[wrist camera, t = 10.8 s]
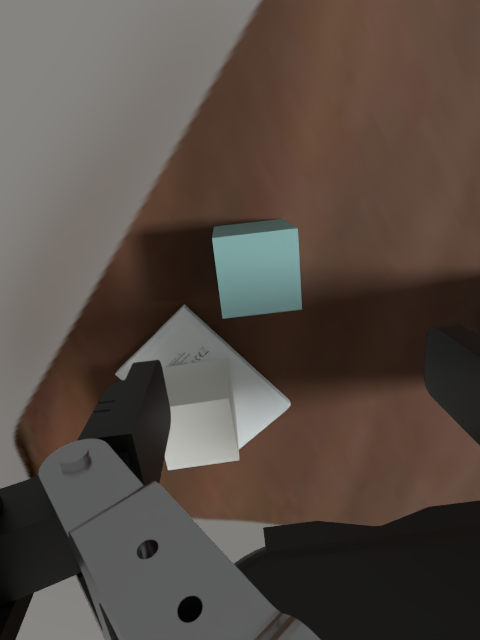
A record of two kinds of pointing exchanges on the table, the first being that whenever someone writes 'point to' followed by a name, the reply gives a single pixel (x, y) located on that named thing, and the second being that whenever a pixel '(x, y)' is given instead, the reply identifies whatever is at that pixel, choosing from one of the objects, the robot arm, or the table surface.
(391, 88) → the table surface
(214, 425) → the white block
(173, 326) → the external hard drive
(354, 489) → the table surface
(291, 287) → the teal block
